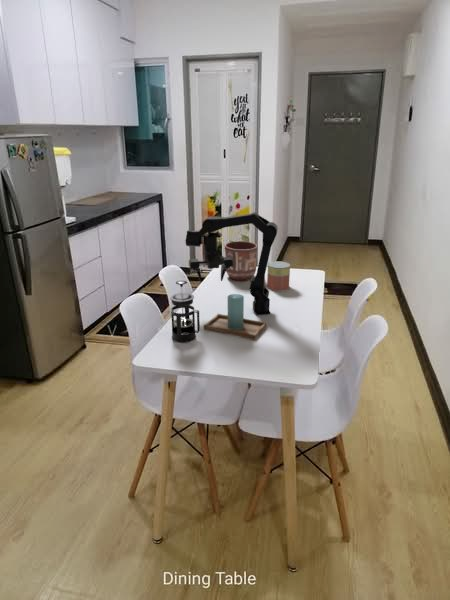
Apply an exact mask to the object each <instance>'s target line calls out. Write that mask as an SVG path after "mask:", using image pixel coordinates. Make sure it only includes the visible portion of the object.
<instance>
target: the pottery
mask: <svg viewBox="0 0 450 600" xmlns="http://www.w3.org/2000/svg"><path fill="white" fill-rule="evenodd" d="M224 253H225V256H224V257H230V258H231V259H232V260H233V266H230V268H228V269H227V270H226V272H225V273H226V274H227V276H228V277H229V278H230V279H231V280H234V281H240V282H242V281H248V280H251V279H252V276H253V277H255V274H256V273H257V255H258V245H257V243H254V242H250V241H243V240H241V241H240V240H239V241H235V240H234V241H231V242H230V241H229V242H227V243H225V244H224Z"/></svg>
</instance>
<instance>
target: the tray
mask: <svg viewBox="0 0 450 600" xmlns="http://www.w3.org/2000/svg"><path fill="white" fill-rule="evenodd" d="M267 324H268V323H267V322H264V321H259V320H254V319H249V318H243V325H244V327H243V329H241V330H231V329H229V328H228V327H227V325H228V314H221V313H217V314H216V315H215V316H213V317H212V318H211V319H210V320H209V321H208V322H206V323H205V324H204V325H203V330H204V331H205V330H206V331H210V332H215V333H220V334H222V335H223V334H225V335H229V336H233V337H239V338H244V339H247V340H253V341H255V340H256V339H257V338H258V336H260V335H261V333H262V332H263V331H264V330H265V329H266V328H267Z"/></svg>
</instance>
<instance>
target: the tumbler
mask: <svg viewBox="0 0 450 600" xmlns="http://www.w3.org/2000/svg"><path fill="white" fill-rule="evenodd" d="M244 300H245V296H244V295H243V294H240V293H232V294H229V295H227V315H228V325H227V327H228V328H229V329H231V330H241V329H243V327H244V325H243V318H244V308H245V307H244V306H245V305H244V303H245V301H244ZM244 319H245V318H244Z"/></svg>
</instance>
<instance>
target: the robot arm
mask: <svg viewBox="0 0 450 600" xmlns="http://www.w3.org/2000/svg"><path fill="white" fill-rule="evenodd" d="M242 225H253V226H254V227H255V228H256V229H257V230H258V231H259V232H261V234H262V248H261V251H260V256H259V260H258V265H257V269H256V273H255V274H256V275H255V276H252V278H250V284H249V288H248V290H249V293H250V295H251V296H252V297H253V301H252V311H253V312H254V313H255V315H257V316H259V315H269V314H271V310H270V305H271V304H270V301H271V300H270V298H269V296H270V291H269V289H268V288H267V287H266V286H265V285H266V284H265V283H266V271H267V269H268V263H269V258H270V254H271V248H272V246H273V243H274V241H275V239H276V237H277V233H278V229H279V228H278V225H277V223H275V222H273V221H270V220H267V219H266V218H264V217H263V216H261V215H260V214H258V212H254V211H253V212H251V213H246V214H238V215H231V216H226V217H225V216H214V215H213V216H212V215H211V216H207V217H206V218H205V219H204V220H203V222H202V225H201V226H202V227H201V228H200V229H199V230H192V229H188V230H187V231H186V236H185V246H186V247H198V248H199V247H201V246H202V245H203V260H199V259H198V258H192V259H188V267H189V269H190V270H193V271H195V272H196V274H197V276H198V280H199V282H200V283H202V274H201V268H200V266H207V268H208V269H210V270H212V269H219V268H220V281H221V282H223V279H224V276H225V273H227V272H226V270H227V269H228V268H230V266H233V260H232V259H231V258H230V257H225V256H224V255H219V254H218V238H221V237H222V236H223V234H222V233H221V232H219V230H221V229H224V228H229V227H237V226H242Z"/></svg>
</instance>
